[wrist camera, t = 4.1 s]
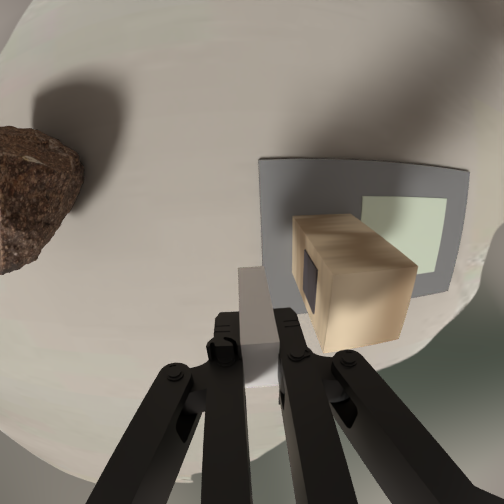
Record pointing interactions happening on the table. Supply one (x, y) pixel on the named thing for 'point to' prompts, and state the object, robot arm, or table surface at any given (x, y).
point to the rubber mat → (363, 214)
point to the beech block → (350, 281)
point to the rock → (33, 192)
